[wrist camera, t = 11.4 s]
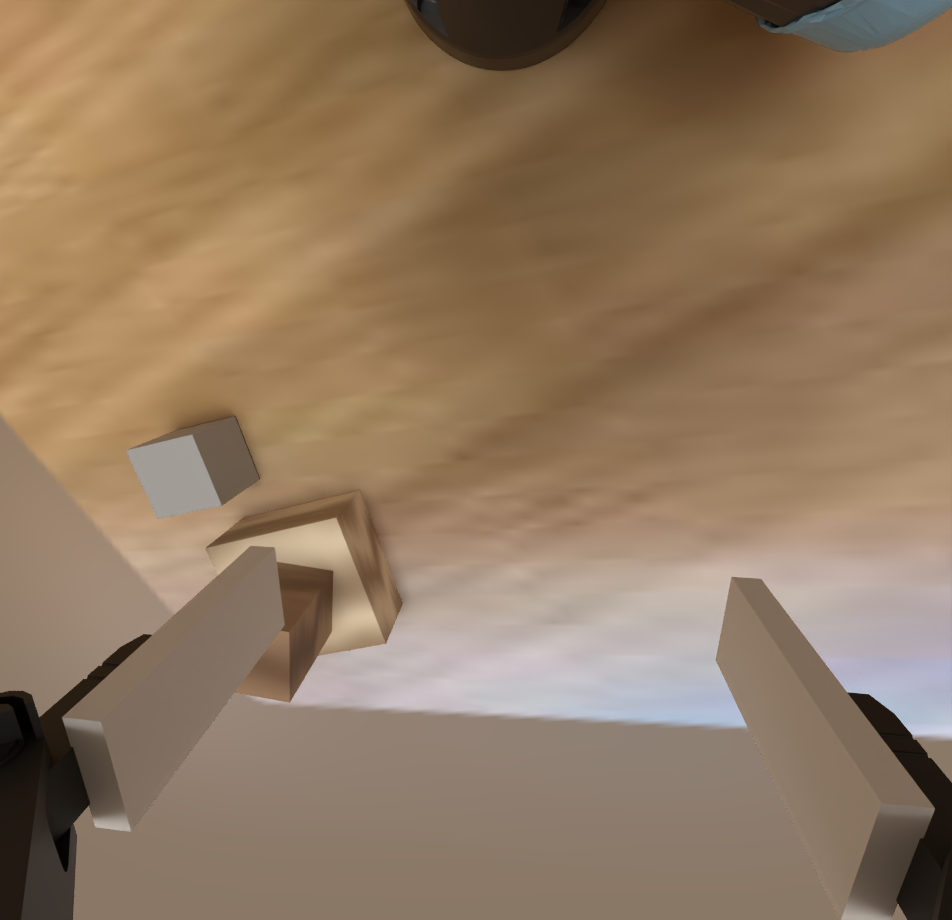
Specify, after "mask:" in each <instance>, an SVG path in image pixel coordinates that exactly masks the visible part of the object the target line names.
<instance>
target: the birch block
mask: <svg viewBox="0 0 952 920" xmlns="http://www.w3.org/2000/svg"><path fill="white" fill-rule="evenodd" d="M250 546H263V547H275V552H276V560H277V562H282V563H288V564H294V565H300V566H306V567H312V568H319V569H325V570H331V571H333V604H332V632H331V634H330V636H329V637H328V639H327V641H326V643H325V644H324V646H323V648H322V649H321V651H320V653H319V654H318V656H319V655H325V654H330V653H336V652H341V651H347V650H353V649H358V648H364V647H369V646H375V645H380V644H386V642H387V640H388V637H389V635H390V632H391V630H392V628H393V625H394V623H395V621H396V618H397V616H398V613H399V611H400V609H401V606H402V601H401V598H400V596H399V593H398V590H397V588H396V585H395V582H394V580H393V577H392V574H391V572H390V569H389V566H388V564H387V561H386V558H385V556H384V553H383V550H382V548H381V545H380V542H379V540H378V537H377V534H376V531H375V529H374V526H373V523H372V521H371V518H370V515H369V513H368V510H367V507H366V505H365V502H364V499H363V497H362V494H361V491H360V490H359V491H354V492H350V493H346V494H342V495H338V496H334V497H330V498H325V499H321V500H317V501H313V502H309V503H305V504H301V505H296V506H292V507H288V508H284V509H280V510H276V511H272V512H267V513H263V514H259V515H255V516H251V517H247V518H243V519H242V520H240V521H239V522H238V523H237V524H235V525H234V526H233V527H232V528H230V529H229V530H228V531H226V532H225V533H224V534H223V535H221V536H220V537H219V538H218V539H216V540H215V541H214V542H213V543H211V544H210V545H209V546H208V547H206V548H205V549H206V551H207V553H208V555H209V557H210V559H211V561H212V563H213V565H214V567H215V569H216V571H217V574H218V575H219V574H220V573H221V572H222V571H223V570H225V569H226V568H227V567H228V566H229V565H230V564H231V563H232V562H233V561H234V560H236V559H237V558H238V557H239V556H240V555H241V554H242V553H243V552H244V551H245V550H247V549H248V548H249V547H250Z"/></svg>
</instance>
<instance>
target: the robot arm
mask: <svg viewBox="0 0 952 920" xmlns="http://www.w3.org/2000/svg"><path fill="white" fill-rule="evenodd" d="M605 1H606V0H405V2H406V4H407V6H408V8H409V10H410V12H411V14H412V15H413V17H414V18H415V20H416V22H417V23H418V24H419V26H420V27H421V29H422V30H423V31H424V32H425V33H426V35H427V36H428V37H429V38H430V39H431V40H432V41H433V42H434V43H435V44H436V45H437V46H439V47H440V48H441V49H442V50H444V51H445V52H446V53H448V54H449V55H451V56H453V57H454V58H456V59H458V60H460V61H462V62H464V63H467V64H469V65H472V66H476V67H479V68H484V69H490V70H513V69H519V68H523V67H527V66H531V65H534V64H537V63H539V62H541V61H544V60H546V59H548V58H550V57H551V56H553V55H555V54H557V53H558V52H560V51H561V50H563V49H564V48H565V47H567V46H568V45H569V44H570V43H572V42H573V41H574V40H575V39H576V38H577V37H578V36H579V35H580V34H581V33H582V32H583V31H584V30H585V29H586V28H587V27H588V26H589V24H590V23H591V22H592V21H593V19H594V18H595V17H596V15H597V14H598V12H599V11H600V9H601V8H602V6H603V5H604V3H605ZM721 1H723V2H725V3H727V4H729V5H732V6H734V7H736V8H738V9H740V10H742V11H744V12H746V13H749V14H751V15H753V16H755V17H756V22H757V24H758V25H759V26H760V27H762V28H763V29H765V30H767V31H769V32H771V33H783V34H790V33H791V34H794V35H796V36H799V37H801V38H804V39H806V40H809V41H811V42H814V43H816V44H819V45H821V46H824V47H826V48H829V49H831V50H834V51H838V52H855V51H858V50H868V49H872V48H879V47H882V46H885V45H888V44H890V43H892V42H894V41H897V40H899V39H901V38H903V37H905V36H907V35H909V34H911V33H912V32H914V31H916V30H918V29H919V28H921V27H923V26H924V25H926V24H927V23H929V22H931V21H932V20H934V19H935V18H937V17H938V16H940V15H941V14H943V13H944V12H945V11H947V10H948V9H950V8H951V7H952V0H721ZM284 625H285V623H284V615H283V608H282V600H281V592H280V584H279V576H278V568H277V560H276V552H275V547H263V546H250V547H249V548H248V549H247V550H245V551H244V552H243V553H242V554H241V555H240V556H239V557H238V558H237V559H236V560H234V561H233V562H232V563H231V564H230V565H229V566H228V567H227V568H226V569H225V570H223V571H222V572H221V573H220V574H219V575H218V576H217V577H216V578H215V579H214V580H212V581H211V582H210V583H209V584H208V585H207V586H206V587H205V588H204V589H203V590H201V591H200V592H199V593H198V594H197V595H196V596H195V597H194V598H193V599H192V600H190V601H189V602H188V603H187V604H186V605H185V606H184V607H183V608H182V609H181V610H179V611H178V612H177V613H176V614H175V615H174V616H173V617H172V618H171V619H170V620H168V622H166V623H165V624H164V625H163V626H162V627H161V628H160V629H159V630H158V631H157V632H155V633H154V634H153V635H146V634H143V635H142V636H140V637H138V638H136V639H134V640H133V641H131V642H129V643H127V644H125V645H123V646H122V647H120V648H119V649H118V650H117V651H116V652H114V653H113V654H112V655H111V656H110V657H109V658H107V659H106V660H105V661H104V662H103V664H102V666H98V667H97V668H96V669H95V670H94V671H92V672H91V673H90V674H89V675H88V677H87V679H83V680H82V681H81V682H80V683H79V684H78V685H77V686H75V687H74V688H73V689H72V690H71V691H69V692H68V693H67V694H66V695H65V696H64V697H63V698H62V699H60V700H59V701H58V702H57V703H56V704H55V705H53V706H52V707H51V708H50V709H49V710H48V711H46V712H45V713H44V714H43V715H42V716H41V717H40V718H39V716H38V713H37V710H36V707H35V704H34V701H33V698H32V695H31V694H29V693H26V692H24V691H8V692H4V693H0V920H73V904H74V885H75V865H76V845H77V834H76V831H75V827H74V824H73V823H74V822H75V821H76V820H77V818H78V817H79V816H80V815H81V814H82V812H83V811H84V810H85V809H86V808H87V807H88V806H89V807H90V811H91V814H92V817H93V820H94V823H95V827H99V828H106V829H114V830H122V831H130V832H131V831H132V830H133V829H134V827H135V826H136V825H137V823H138V822H139V821H140V819H141V818H142V817H143V815H144V814H145V813H146V811H147V810H148V809H149V807H150V806H151V804H152V803H153V802H154V800H155V799H156V798H157V796H158V795H159V794H160V792H161V791H162V790H163V788H164V787H165V786H166V784H167V783H168V782H169V780H170V779H171V778H172V776H173V775H174V773H175V772H176V771H177V770H178V768H179V767H180V765H181V764H182V763H183V761H184V760H185V759H186V757H187V756H188V755H189V753H190V752H191V751H192V749H193V748H194V746H195V745H196V744H197V742H198V741H199V740H200V738H201V737H202V736H203V734H204V733H205V732H206V730H207V729H208V728H209V726H210V725H211V724H212V722H213V721H214V720H215V718H216V717H217V716H218V714H219V713H220V712H221V710H222V709H223V707H224V706H225V705H226V704H227V702H228V701H229V699H230V698H231V697H232V695H233V694H234V693H235V691H236V690H237V689H238V687H239V686H240V685H241V683H242V682H243V681H244V679H245V678H246V677H247V675H248V674H249V673H250V671H251V670H252V669H253V667H254V666H255V664H256V663H257V662H258V660H259V659H260V658H261V656H262V655H263V654H264V652H265V651H266V650H267V648H268V647H269V646H270V644H271V643H272V642H273V640H274V639H275V638H276V636H277V635H278V634H279V632H280V631H281V629H282V628H283V627H284ZM716 661H717V664H718V666H719V668H720V670H721V672H722V674H723V676H724V678H725V680H726V682H727V685H728V687H729V689H730V691H731V693H732V695H733V697H734V699H735V701H736V703H737V706H738V708H739V710H740V712H741V714H742V716H743V718H744V720H745V722H746V725H747V727H748V729H749V731H750V733H751V735H752V737H753V739H754V741H755V743H756V746H757V748H758V750H759V752H760V754H761V756H762V758H763V760H764V762H765V764H766V767H767V768H768V771H769V773H770V775H771V777H772V779H773V781H774V783H775V786H776V788H777V790H778V791H779V794H780V796H781V798H782V800H783V802H784V805H785V807H786V809H787V811H788V813H789V815H790V817H791V819H792V821H793V823H794V825H795V828H796V830H797V832H798V834H799V836H800V838H801V840H802V842H803V845H804V846H805V849H806V851H807V853H808V855H809V857H810V859H811V861H812V863H813V866H814V868H815V870H816V872H817V874H818V876H819V878H820V880H821V882H822V885H823V887H824V889H825V891H826V893H827V895H828V897H829V899H830V901H831V903H832V905H833V908H834V909H835V912H836V914H837V916H838V918H839V920H891V919H892V917H893V914H894V912H895V909H896V906H897V904H899V906H900V908H901V909H902V911H903V913H904V914H905V916H906V918H907V920H952V783H951V781H950V780H949V779H948V778H947V777H946V775H945V774H944V773H943V772H942V771H941V770H940V768H939V767H938V766H937V764H936V763H935V762H934V761H933V760H932V759H931V758H928V755H927V752H926V751H925V750H924V749H923V748H922V747H921V745H920V744H919V743H918V742H917V740H913V738H912V734H911V733H910V732H909V731H908V730H907V728H906V727H905V726H904V725H903V724H902V722H901V721H900V720H899V719H898V718H897V716H896V715H895V714H894V713H893V712H891V711H890V710H889V709H887V708H886V707H885V706H883V705H882V704H881V703H879V702H878V701H877V700H875V699H874V698H873V697H871V696H870V695H869V694H858V693H847V692H846V690H845V689H844V688H843V686H842V685H841V684H840V683H839V681H838V680H837V679H836V677H835V676H834V675H833V673H832V672H831V671H830V669H829V668H828V667H827V665H826V664H825V663H824V661H823V660H822V659H821V658H820V656H819V655H818V654H817V652H816V651H815V650H814V648H813V647H812V646H811V644H810V643H809V642H808V640H807V639H806V638H805V636H804V635H803V634H802V632H801V631H800V630H799V629H798V627H797V626H796V625H795V623H794V622H793V621H792V619H791V618H790V617H789V615H788V614H787V613H786V611H785V610H784V609H783V607H782V606H781V605H780V603H779V602H778V601H777V600H776V598H775V597H774V596H773V594H772V593H771V592H770V590H769V589H768V588H767V586H766V585H765V584H764V582H763V581H762V580H761V579H754V578H739V577H732V578H731V583H730V588H729V593H728V599H727V604H726V609H725V614H724V620H723V625H722V630H721V635H720V641H719V646H718V651H717V657H716Z"/></svg>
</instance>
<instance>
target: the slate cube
mask: <svg viewBox="0 0 952 920" xmlns="http://www.w3.org/2000/svg"><path fill="white" fill-rule="evenodd" d="M126 452H127V454H128V456H129V458H130V461H131V463H132V465H133V467H134V469H135V471H136V474H137V476H138V478H139V480H140V482H141V484H142V487H143V489H144V491H145V493H146V495H147V497H148V500H149V502H150V504H151V506H152V508H153V510H154V513H155V515H156V517H157V519H160V518H165V517H170V516H174V515H179V514H184V513H189V512H194V511H198V510H203V509H208V508H213V507H218V506H222V505H223V504H225V503H226V502H228V501H229V500H231V499H232V498H234V497H235V496H236V495H238V494H239V493H241V492H242V491H244V490H245V489H247V488H248V487H249V486H251V485H252V484H254V483H255V482H257V481H258V480H259V476H258V474H257V471H256V469H255V466H254V464H253V461H252V458H251V456H250V453H249V451H248V448H247V446H246V443H245V441H244V438H243V435H242V433H241V430H240V428H239V425H238V423H237V420H236V417H235V416H234V417H229V418H225V419H221V420H217V421H213V422H209V423H205V424H201V425H196V426H192V427H188V428H184V429H180V430H176V431H173V432H171V433H168V434H166V435H163V436H161V437H158V438H156V439H153V440H151V441H148V442H146V443H143V444H141V445H138V446H136V447H133V448H131V449H128V450H126Z"/></svg>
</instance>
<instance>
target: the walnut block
mask: <svg viewBox="0 0 952 920" xmlns="http://www.w3.org/2000/svg"><path fill="white" fill-rule="evenodd" d="M277 568H278V576H279V584H280V592H281V600H282V608H283V615H284V623H285V625H284V627H283V628H282V629H281V631H280V632H279V634H278V635H277V636H276V638H275V639H274V640H273V642H272V643H271V644H270V646H269V647H268V648H267V650H266V651H265V652H264V654H263V655H262V656H261V658H260V659H259V660H258V662H257V663H256V664H255V666H254V667H253V669H252V670H251V671H250V673H249V674H248V675H247V677H246V678H245V679H244V681H243V682H242V683H241V685H240V686H239V687H238V689H237V690H236V691H235V693H240V694H246V695H251V696H257V697H262V698H268V699H273V700H279V701H284V702H290V701H291V700H292V698H293V696H294V694H295V693H296V691H297V689H298V688H299V686H300V684H301V683H302V681H303V679H304V678H305V676H306V674H307V673H308V671H309V669H310V668H311V666H312V664H313V663H314V661H315V659H316V658H317V656H318V654H319V653H320V651H321V649H322V648H323V646H324V644H325V643H326V641H327V639H328V637H329V636H330V634H331V632H332V604H333V571H331V570H325V569H319V568H312V567H306V566H300V565H294V564H288V563H282V562H277Z"/></svg>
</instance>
